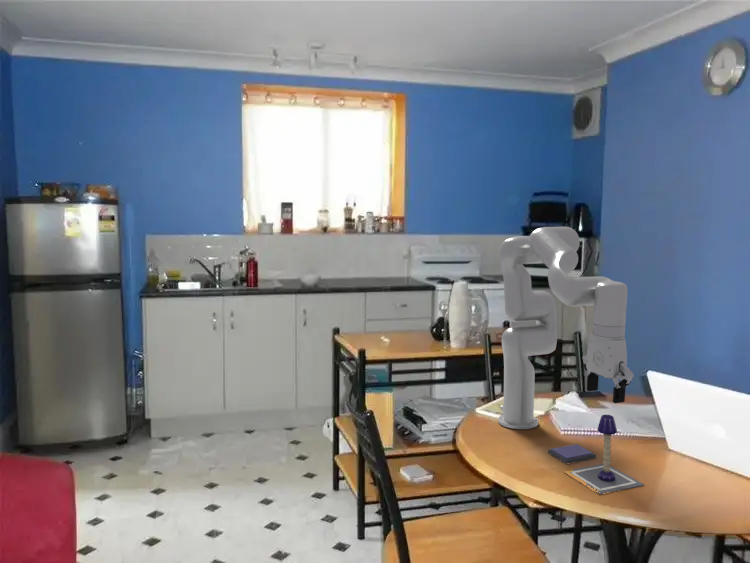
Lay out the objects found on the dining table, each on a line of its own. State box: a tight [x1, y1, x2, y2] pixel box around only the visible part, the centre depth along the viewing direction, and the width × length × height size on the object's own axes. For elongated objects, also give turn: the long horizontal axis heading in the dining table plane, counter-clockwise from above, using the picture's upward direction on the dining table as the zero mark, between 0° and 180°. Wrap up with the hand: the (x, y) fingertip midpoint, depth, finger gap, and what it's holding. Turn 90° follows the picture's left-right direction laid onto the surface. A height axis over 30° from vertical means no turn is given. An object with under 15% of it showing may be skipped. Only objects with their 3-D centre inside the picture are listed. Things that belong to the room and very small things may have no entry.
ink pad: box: [547, 443, 597, 465], centre depth 181 cm, size 8×10×2 cm
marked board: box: [570, 463, 645, 495], centre depth 166 cm, size 14×14×1 cm
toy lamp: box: [597, 414, 618, 482], centre depth 165 cm, size 5×5×17 cm
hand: (605, 396), depth 164 cm, fingers open, 9 cm apart
